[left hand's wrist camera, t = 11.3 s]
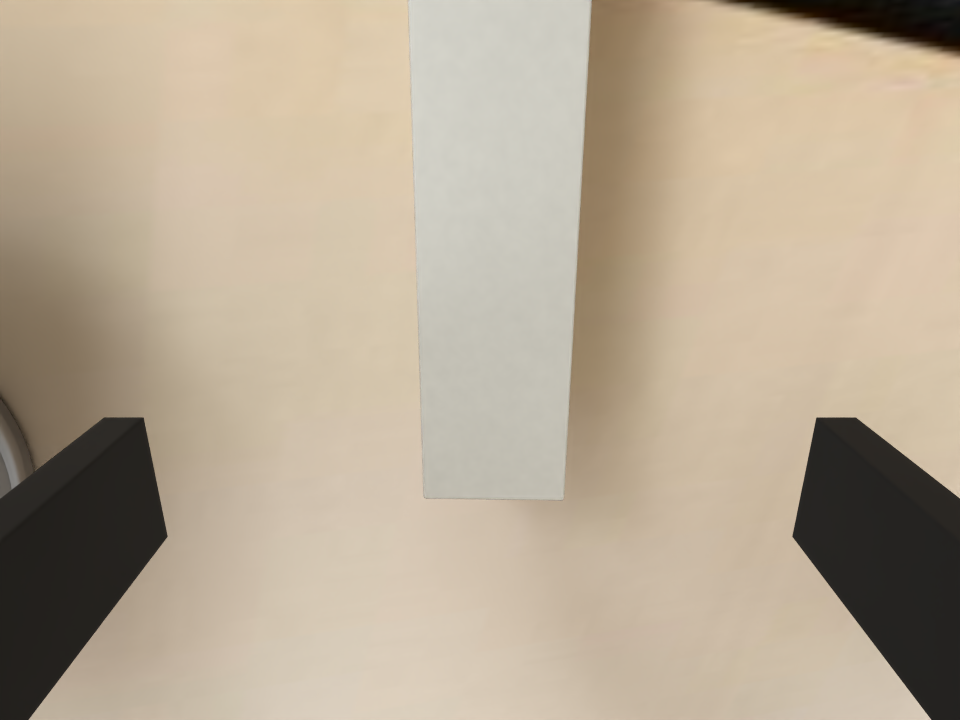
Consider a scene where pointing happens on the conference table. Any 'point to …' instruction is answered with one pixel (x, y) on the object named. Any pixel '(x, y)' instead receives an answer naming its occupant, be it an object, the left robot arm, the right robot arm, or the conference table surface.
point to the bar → (497, 238)
